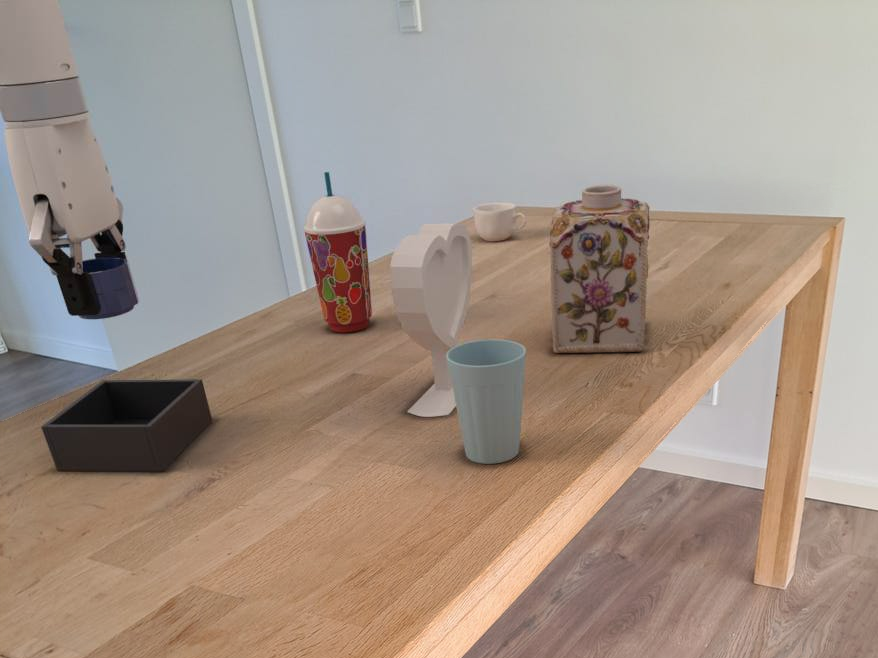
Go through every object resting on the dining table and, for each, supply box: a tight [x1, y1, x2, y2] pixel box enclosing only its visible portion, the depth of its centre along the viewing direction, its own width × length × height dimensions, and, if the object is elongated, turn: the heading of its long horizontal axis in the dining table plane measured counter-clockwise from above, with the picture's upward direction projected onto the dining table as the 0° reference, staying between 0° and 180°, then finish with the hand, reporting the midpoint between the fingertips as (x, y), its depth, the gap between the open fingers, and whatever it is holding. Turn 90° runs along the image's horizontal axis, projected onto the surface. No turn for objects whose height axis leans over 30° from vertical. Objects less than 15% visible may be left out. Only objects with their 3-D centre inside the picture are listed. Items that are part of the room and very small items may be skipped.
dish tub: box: [40, 378, 213, 473], centre depth 100 cm, size 12×13×5 cm
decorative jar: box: [548, 183, 651, 354], centre depth 115 cm, size 12×12×18 cm
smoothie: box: [302, 171, 373, 334], centre depth 126 cm, size 8×8×20 cm
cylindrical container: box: [78, 257, 140, 320], centre depth 94 cm, size 7×7×4 cm
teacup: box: [472, 202, 527, 242], centre depth 167 cm, size 10×8×5 cm
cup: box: [446, 338, 527, 465], centre depth 91 cm, size 8×8×10 cm
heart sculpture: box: [389, 222, 473, 418], centre depth 102 cm, size 16×5×18 cm, turn 162°
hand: (103, 301), depth 94 cm, fingers closed on cylindrical container, 6 cm apart
